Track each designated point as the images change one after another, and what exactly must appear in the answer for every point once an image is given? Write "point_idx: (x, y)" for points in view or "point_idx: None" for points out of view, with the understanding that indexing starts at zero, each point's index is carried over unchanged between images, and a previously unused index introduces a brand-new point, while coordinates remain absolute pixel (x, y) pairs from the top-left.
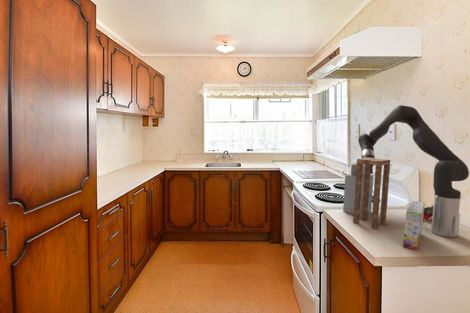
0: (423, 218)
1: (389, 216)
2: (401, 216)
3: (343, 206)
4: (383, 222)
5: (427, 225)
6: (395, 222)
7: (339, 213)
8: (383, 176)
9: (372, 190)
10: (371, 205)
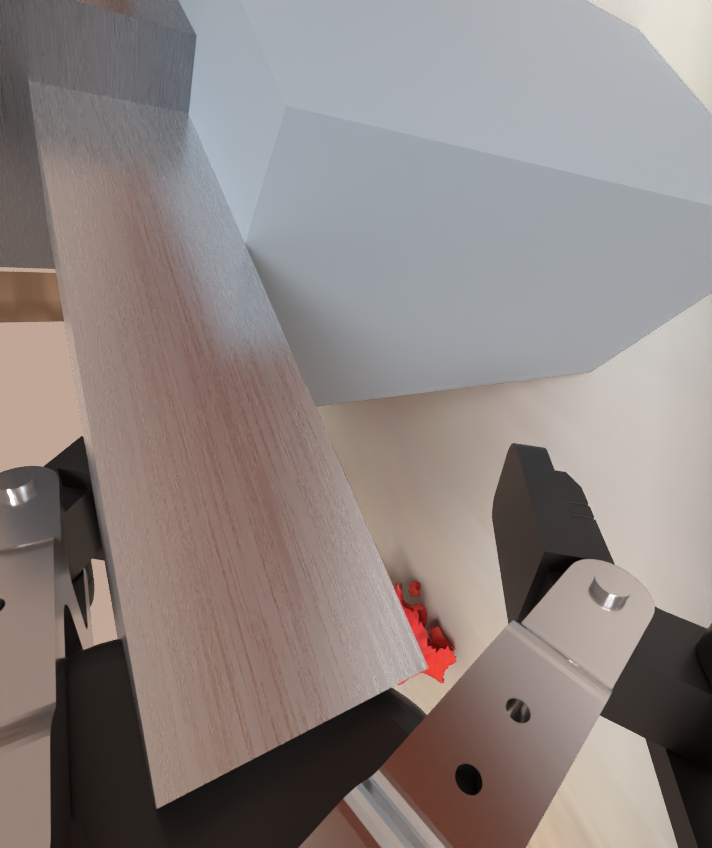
0: (409, 590)
1: (482, 450)
2: (480, 538)
3: (601, 10)
4: None
5: (375, 528)
6: (401, 398)
7: None
8: (51, 275)
9: (408, 392)
10: (544, 375)
